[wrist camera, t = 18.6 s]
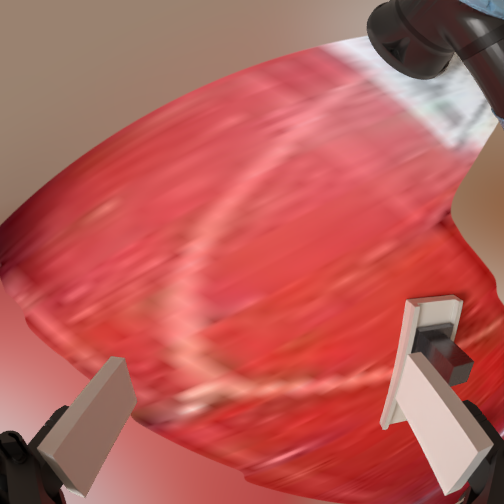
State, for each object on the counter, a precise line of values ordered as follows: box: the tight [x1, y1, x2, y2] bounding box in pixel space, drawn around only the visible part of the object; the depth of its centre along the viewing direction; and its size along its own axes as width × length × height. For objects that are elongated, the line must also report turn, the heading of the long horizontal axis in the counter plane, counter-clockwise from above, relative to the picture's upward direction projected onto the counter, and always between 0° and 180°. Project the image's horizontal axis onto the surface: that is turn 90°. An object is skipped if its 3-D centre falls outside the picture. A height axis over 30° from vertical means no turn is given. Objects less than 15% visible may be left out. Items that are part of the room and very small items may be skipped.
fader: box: [411, 323, 474, 387], centre depth 34 cm, size 6×7×10 cm
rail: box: [380, 295, 463, 430], centre depth 41 cm, size 26×10×3 cm, turn 2°
